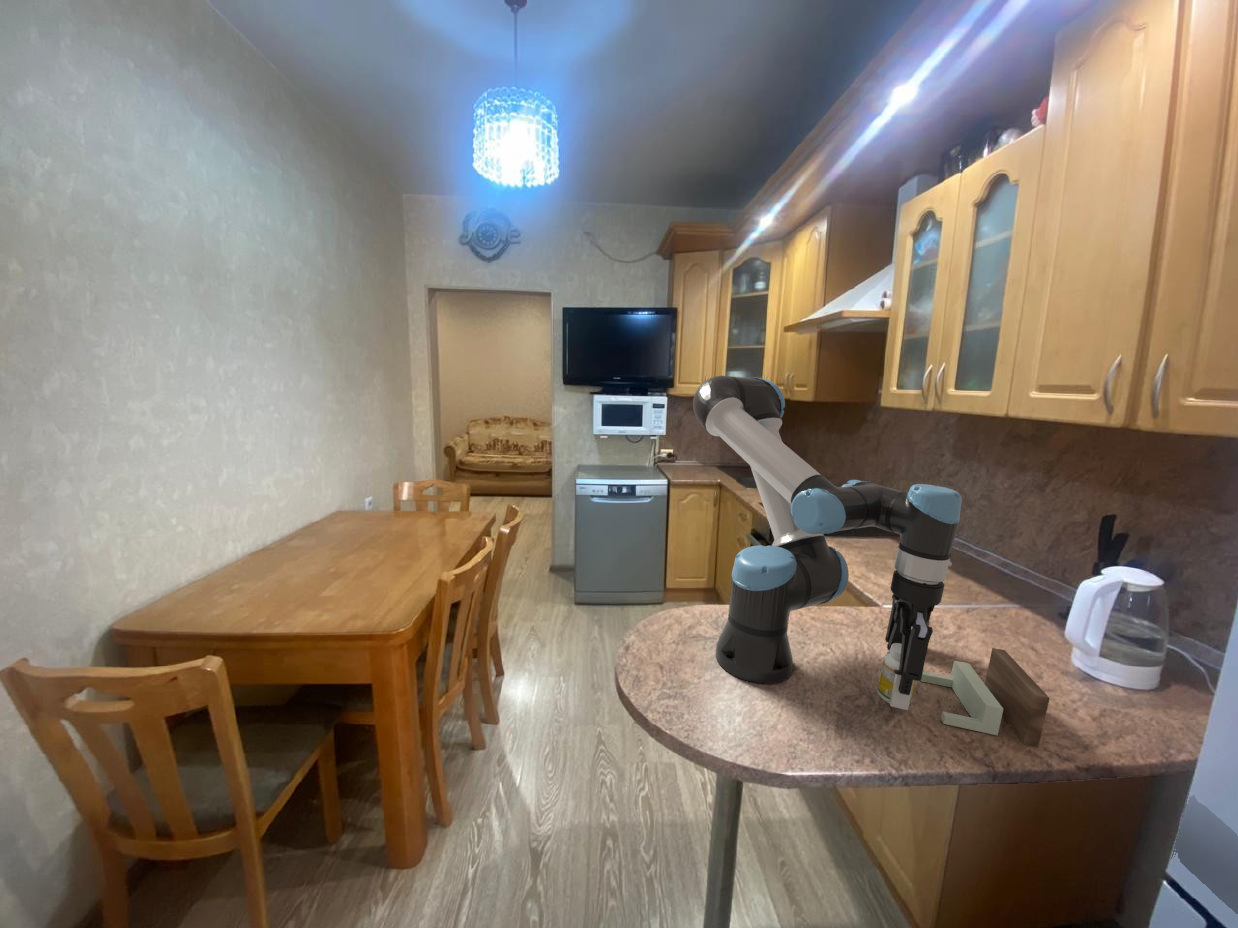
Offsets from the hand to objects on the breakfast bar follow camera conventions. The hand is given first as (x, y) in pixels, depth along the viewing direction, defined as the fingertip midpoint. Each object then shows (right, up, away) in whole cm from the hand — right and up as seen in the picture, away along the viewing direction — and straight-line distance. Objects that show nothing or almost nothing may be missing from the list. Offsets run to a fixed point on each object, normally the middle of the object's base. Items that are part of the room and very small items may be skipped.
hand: (894, 695), depth 86 cm
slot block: (+12, -3, +2) cm, 13 cm away
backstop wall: (+20, -4, 0) cm, 21 cm away
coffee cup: (+15, 0, +21) cm, 26 cm away
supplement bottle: (0, -1, 0) cm, 1 cm away
